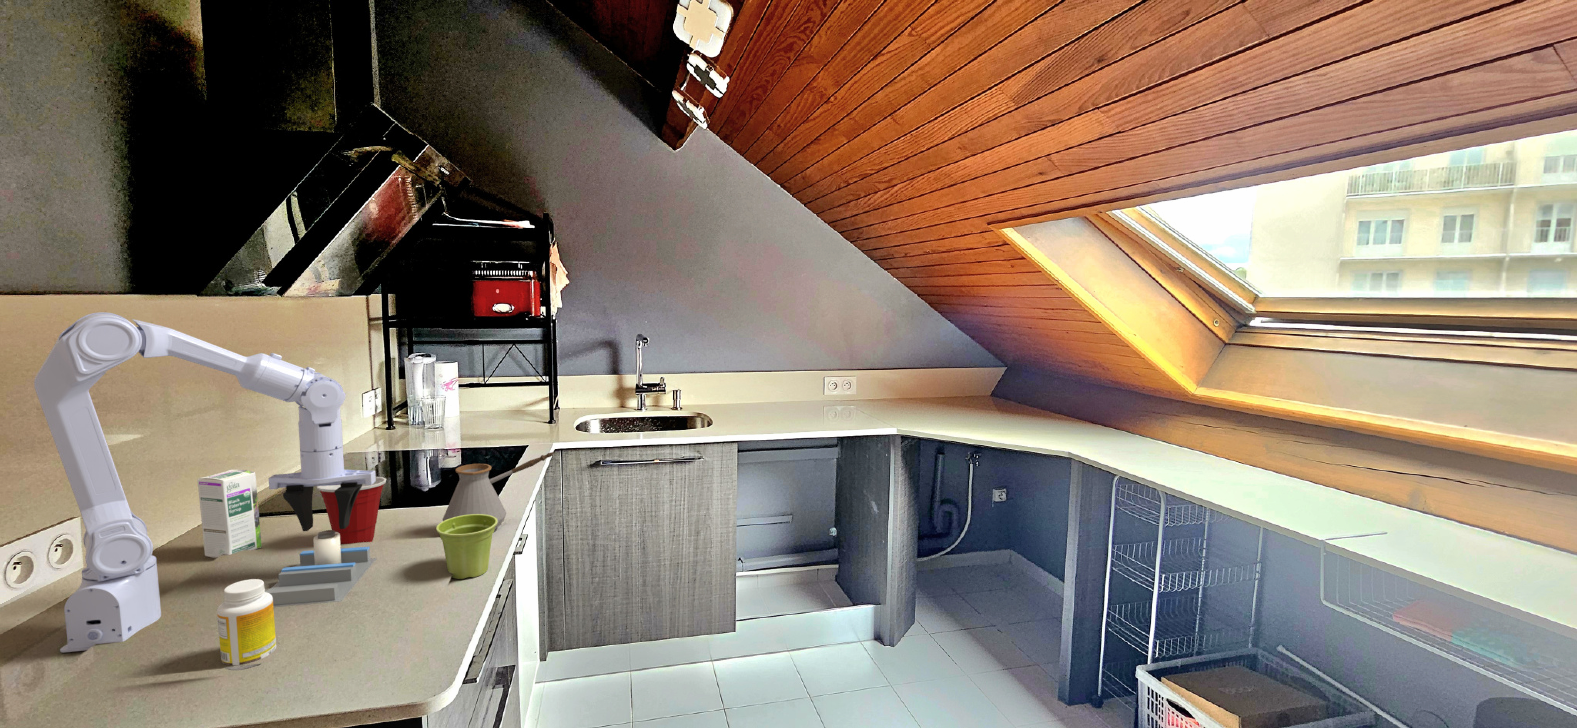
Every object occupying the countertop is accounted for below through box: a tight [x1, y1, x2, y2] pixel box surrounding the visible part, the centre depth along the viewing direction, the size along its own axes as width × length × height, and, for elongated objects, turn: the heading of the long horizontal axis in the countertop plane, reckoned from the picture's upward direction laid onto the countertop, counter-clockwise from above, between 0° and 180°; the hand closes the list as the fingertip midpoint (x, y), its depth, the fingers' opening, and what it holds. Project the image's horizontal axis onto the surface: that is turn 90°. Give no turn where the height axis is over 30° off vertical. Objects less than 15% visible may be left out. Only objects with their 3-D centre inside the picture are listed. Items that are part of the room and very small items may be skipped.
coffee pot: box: [442, 451, 557, 532], centre depth 131 cm, size 21×12×15 cm, turn 113°
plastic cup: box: [316, 476, 387, 545], centre depth 122 cm, size 11×11×12 cm
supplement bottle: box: [216, 578, 277, 671], centre depth 84 cm, size 6×6×10 cm
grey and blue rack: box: [265, 546, 378, 608], centre depth 105 cm, size 16×12×3 cm
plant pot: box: [435, 514, 498, 580], centre depth 111 cm, size 9×9×9 cm
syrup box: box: [197, 469, 263, 559], centre depth 116 cm, size 6×6×14 cm
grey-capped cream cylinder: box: [312, 529, 342, 565], centre depth 108 cm, size 4×4×7 cm
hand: (326, 527), depth 108 cm, fingers open, 5 cm apart
